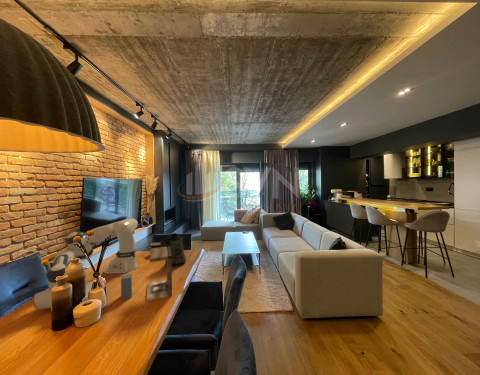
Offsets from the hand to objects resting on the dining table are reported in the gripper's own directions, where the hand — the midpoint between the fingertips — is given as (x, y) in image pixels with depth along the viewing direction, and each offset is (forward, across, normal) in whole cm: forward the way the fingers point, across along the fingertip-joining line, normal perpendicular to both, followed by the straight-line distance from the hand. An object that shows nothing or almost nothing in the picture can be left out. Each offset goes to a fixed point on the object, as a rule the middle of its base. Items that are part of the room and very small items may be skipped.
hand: (102, 289), depth 115 cm
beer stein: (+42, -40, -7) cm, 59 cm away
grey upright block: (+12, 0, -7) cm, 14 cm away
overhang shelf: (+30, 0, -7) cm, 31 cm away
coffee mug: (+27, -73, -7) cm, 78 cm away
